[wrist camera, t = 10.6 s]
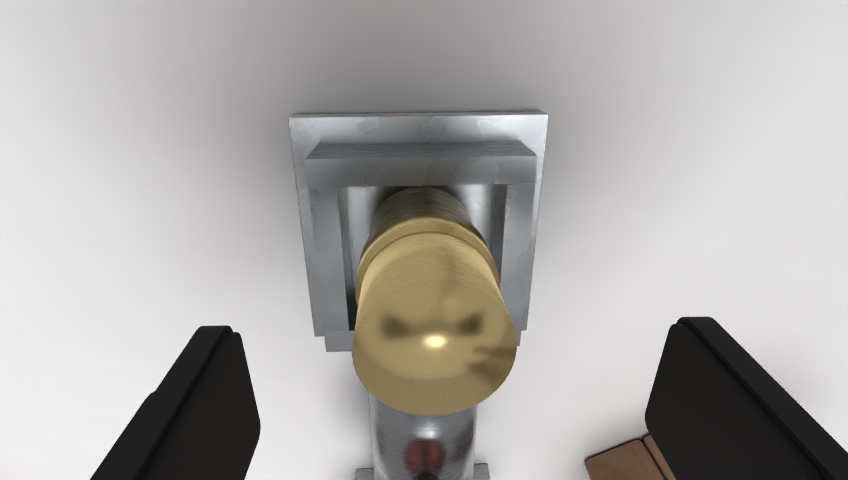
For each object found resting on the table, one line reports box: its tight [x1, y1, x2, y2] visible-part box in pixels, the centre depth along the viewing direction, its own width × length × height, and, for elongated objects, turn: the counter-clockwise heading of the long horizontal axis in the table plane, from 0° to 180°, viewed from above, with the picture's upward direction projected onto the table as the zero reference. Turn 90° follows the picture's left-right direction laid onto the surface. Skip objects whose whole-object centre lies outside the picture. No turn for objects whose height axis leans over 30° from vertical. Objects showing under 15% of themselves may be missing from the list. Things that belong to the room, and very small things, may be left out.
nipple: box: [352, 186, 517, 416], centre depth 16 cm, size 5×5×8 cm
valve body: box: [288, 111, 548, 480], centre depth 19 cm, size 21×10×8 cm, turn 0°
